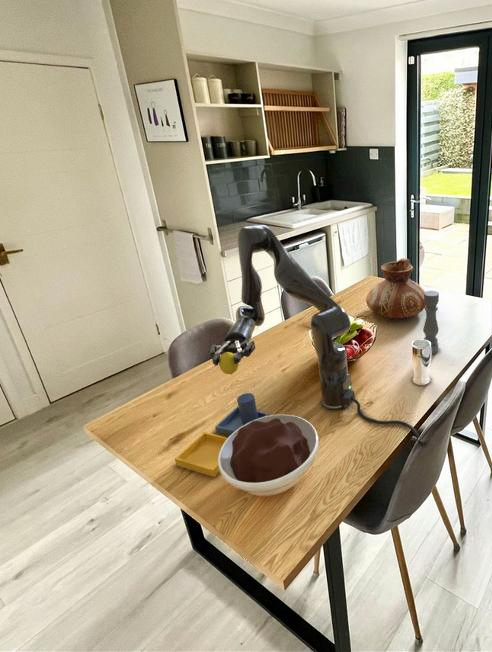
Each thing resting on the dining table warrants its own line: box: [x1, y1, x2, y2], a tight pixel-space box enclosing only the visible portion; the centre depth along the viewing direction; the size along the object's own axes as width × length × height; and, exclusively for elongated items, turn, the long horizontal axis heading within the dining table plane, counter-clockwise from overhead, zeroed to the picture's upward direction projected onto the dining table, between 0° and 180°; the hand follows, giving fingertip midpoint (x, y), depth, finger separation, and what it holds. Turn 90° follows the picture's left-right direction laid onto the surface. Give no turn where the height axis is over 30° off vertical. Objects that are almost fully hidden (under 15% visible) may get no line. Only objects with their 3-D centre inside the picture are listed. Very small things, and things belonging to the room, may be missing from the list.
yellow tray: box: [174, 431, 228, 478], centre depth 111 cm, size 13×11×2 cm
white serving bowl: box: [218, 413, 320, 497], centre depth 102 cm, size 25×25×15 cm
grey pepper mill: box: [422, 290, 440, 355], centre depth 157 cm, size 6×6×25 cm
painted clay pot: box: [365, 257, 426, 320], centre depth 193 cm, size 30×30×25 cm
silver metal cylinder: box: [410, 338, 432, 386], centre depth 140 cm, size 7×7×15 cm
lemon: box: [218, 352, 240, 376], centre depth 124 cm, size 6×6×8 cm
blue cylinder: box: [236, 392, 259, 425], centre depth 123 cm, size 5×5×9 cm
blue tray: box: [215, 405, 270, 436], centre depth 123 cm, size 12×10×2 cm
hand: (225, 362), depth 121 cm, fingers closed on lemon, 5 cm apart
